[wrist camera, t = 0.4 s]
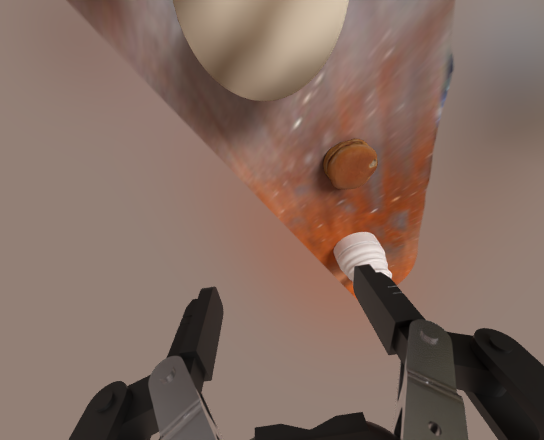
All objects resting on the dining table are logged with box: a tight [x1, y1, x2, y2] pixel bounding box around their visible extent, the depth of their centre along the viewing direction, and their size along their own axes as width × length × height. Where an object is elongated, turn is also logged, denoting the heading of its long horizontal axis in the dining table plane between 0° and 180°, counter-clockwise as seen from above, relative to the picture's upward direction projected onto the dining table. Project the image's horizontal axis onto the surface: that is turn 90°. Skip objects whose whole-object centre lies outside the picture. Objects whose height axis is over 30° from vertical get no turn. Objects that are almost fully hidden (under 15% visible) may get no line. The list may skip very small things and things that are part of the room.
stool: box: [173, 0, 349, 101], centre depth 21 cm, size 15×15×10 cm
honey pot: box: [333, 232, 392, 281], centre depth 54 cm, size 13×13×18 cm
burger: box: [323, 139, 378, 189], centre depth 39 cm, size 10×9×5 cm
